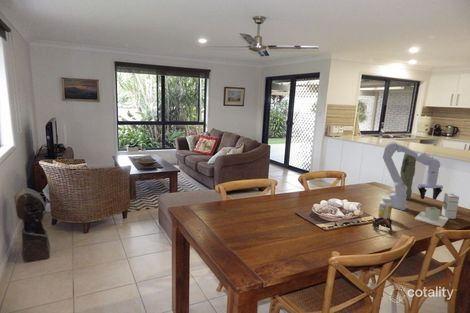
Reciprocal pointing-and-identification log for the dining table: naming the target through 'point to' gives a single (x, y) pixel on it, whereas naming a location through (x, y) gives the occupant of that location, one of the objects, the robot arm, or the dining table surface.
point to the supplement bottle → (385, 208)
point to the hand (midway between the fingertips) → (428, 199)
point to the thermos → (408, 172)
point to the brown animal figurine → (383, 223)
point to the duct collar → (432, 213)
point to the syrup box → (450, 205)
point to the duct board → (439, 222)
